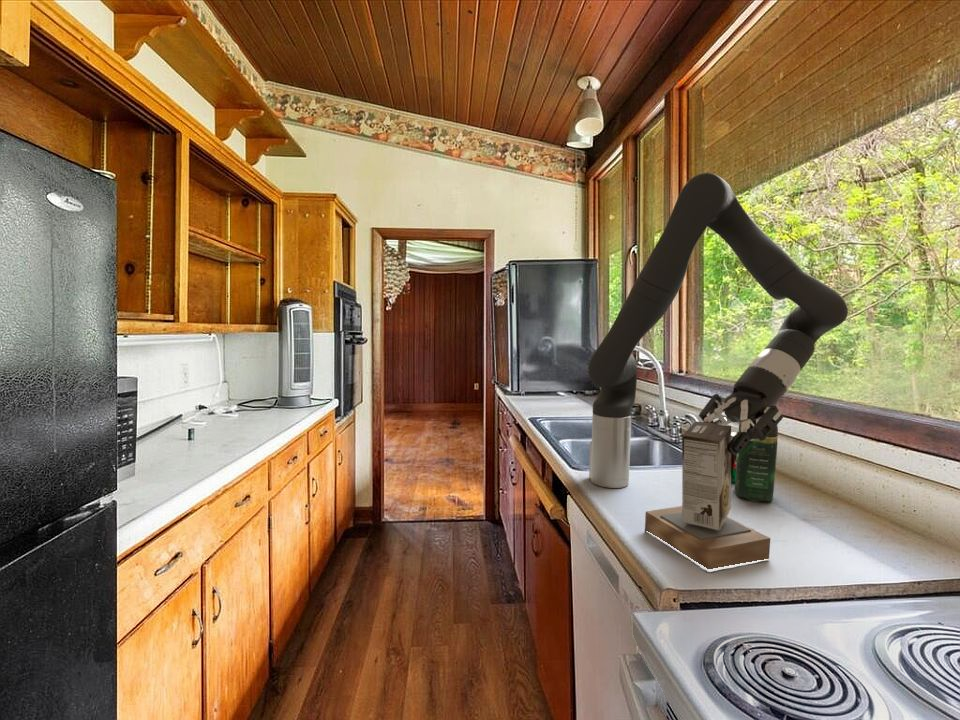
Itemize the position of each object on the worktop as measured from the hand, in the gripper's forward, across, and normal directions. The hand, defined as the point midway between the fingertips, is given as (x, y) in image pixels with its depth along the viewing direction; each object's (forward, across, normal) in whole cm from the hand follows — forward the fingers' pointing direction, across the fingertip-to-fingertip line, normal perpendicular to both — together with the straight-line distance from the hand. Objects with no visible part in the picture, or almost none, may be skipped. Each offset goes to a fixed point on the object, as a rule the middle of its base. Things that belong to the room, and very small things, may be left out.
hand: (713, 446), depth 87 cm
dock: (+14, 0, +12) cm, 18 cm away
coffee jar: (-7, -16, +33) cm, 38 cm away
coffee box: (+10, 0, +8) cm, 13 cm away
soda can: (-9, -26, +36) cm, 45 cm away
